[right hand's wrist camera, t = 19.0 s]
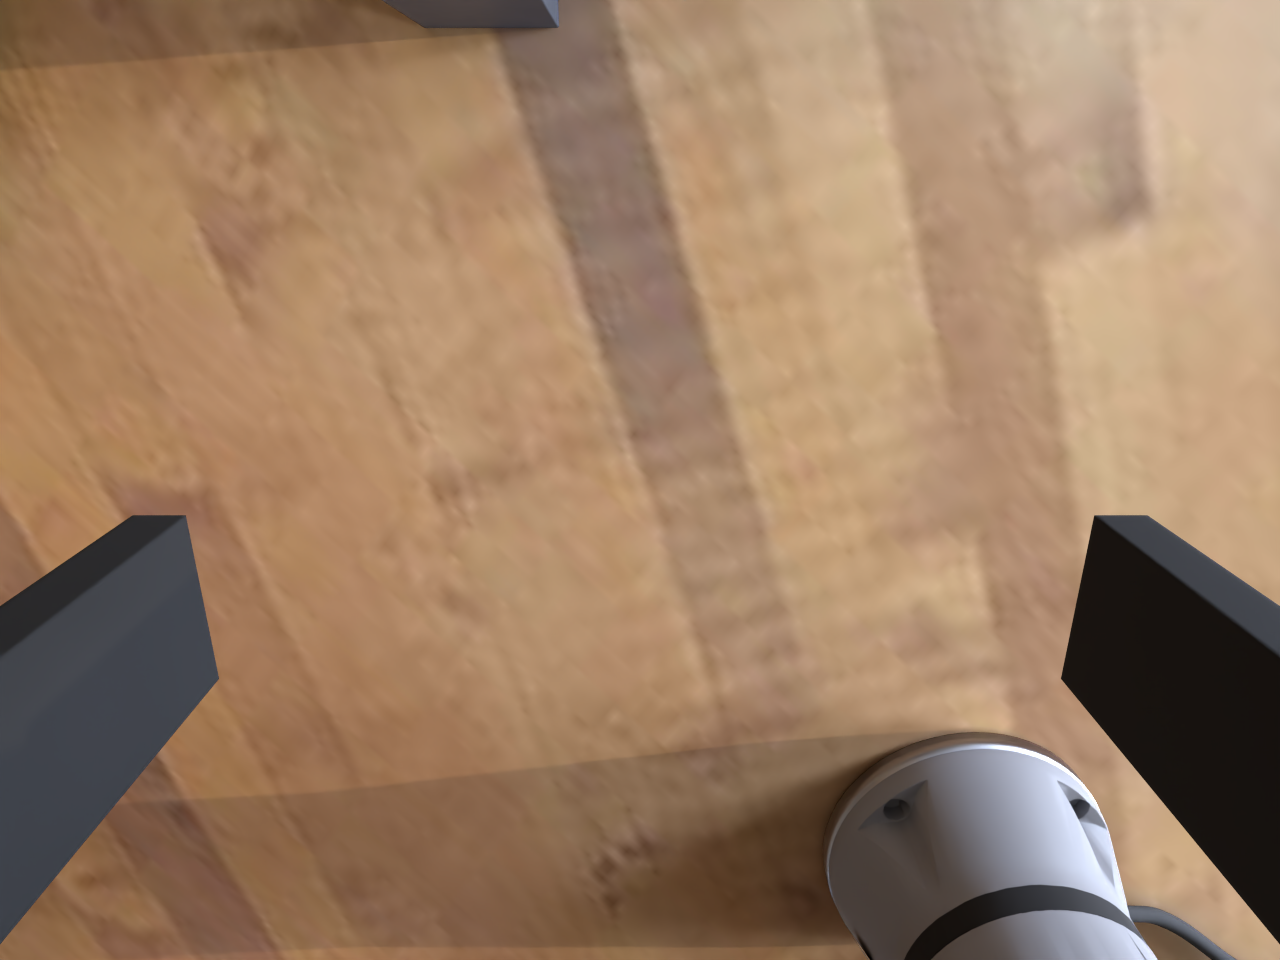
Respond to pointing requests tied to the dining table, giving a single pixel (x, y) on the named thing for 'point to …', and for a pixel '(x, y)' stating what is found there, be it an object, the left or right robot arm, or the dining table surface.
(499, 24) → the beam
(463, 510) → the dining table surface
